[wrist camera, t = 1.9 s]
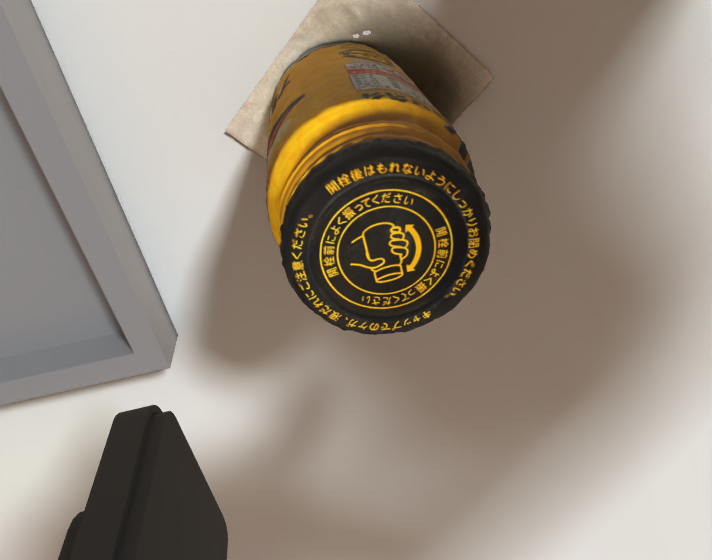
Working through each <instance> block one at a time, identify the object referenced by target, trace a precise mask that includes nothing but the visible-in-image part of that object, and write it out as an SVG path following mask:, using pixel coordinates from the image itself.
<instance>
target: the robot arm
mask: <svg viewBox="0 0 712 560" xmlns="http://www.w3.org/2000/svg"><path fill="white" fill-rule="evenodd" d="M227 546H228V535H227V527H226V523H225V520H224V517H223V515H222V513H221V511H220V509H219V507H218V504H217V502H216V500H215V498H214V496H213V494H212V492H211V490H210V488H209V486H208V484H207V482H206V479H205V477H204V475H203V473H202V471H201V469H200V467H199V465H198V463H197V461H196V459H195V457H194V454H193V452H192V450H191V448H190V446H189V444H188V442H187V440H186V438H185V436H184V434H183V432H182V430H181V427H180V425H179V423H178V421H177V419H176V417H175V415H174V414H173V413H172V412H171V411H168V412H162V411H161V409H160V408H159V407H158V406H157V405H151V406H147V407H143V408H138V409H134V410H130V411H125V412H121V413H118V414H117V415H116V416H115V418H114V420H113V423H112V426H111V430H110V433H109V436H108V439H107V442H106V445H105V448H104V451H103V455H102V458H101V461H100V464H99V467H98V470H97V473H96V476H95V480H94V483H93V486H92V489H91V492H90V495H89V498H88V501H87V504H86V508H85V511H83V512H80V513H78V514H77V516H76V517H75V518H74V519H73V520H72V523H71V525H70V527H69V529H68V532H67V534H66V537H65V540H64V543H63V546H62V549H61V552H60V555H59V558H58V560H227Z"/></svg>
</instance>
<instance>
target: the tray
mask: <svg viewBox="0 0 712 560" xmlns="http://www.w3.org/2000/svg"><path fill="white" fill-rule="evenodd" d="M177 337H178V334H177V332H176V330H175V328H174V325H173V323H172V321H171V319H170V316H169V314H168V312H167V309H166V307H165V305H164V303H163V300H162V298H161V296H160V293H159V291H158V289H157V287H156V284H155V282H154V280H153V278H152V275H151V273H150V271H149V268H148V266H147V264H146V262H145V259H144V257H143V255H142V252H141V250H140V248H139V246H138V243H137V241H136V239H135V237H134V234H133V232H132V230H131V227H130V225H129V223H128V221H127V218H126V216H125V214H124V211H123V209H122V207H121V205H120V202H119V200H118V198H117V196H116V193H115V191H114V189H113V186H112V184H111V182H110V180H109V177H108V175H107V173H106V170H105V168H104V166H103V164H102V161H101V159H100V157H99V155H98V152H97V150H96V148H95V145H94V143H93V141H92V139H91V136H90V134H89V132H88V129H87V127H86V125H85V123H84V120H83V118H82V116H81V114H80V111H79V109H78V107H77V104H76V102H75V100H74V98H73V95H72V93H71V91H70V88H69V86H68V84H67V82H66V79H65V77H64V75H63V73H62V70H61V68H60V66H59V63H58V61H57V59H56V57H55V54H54V52H53V50H52V48H51V45H50V43H49V41H48V38H47V36H46V34H45V32H44V29H43V27H42V25H41V22H40V20H39V18H38V16H37V13H36V11H35V9H34V7H33V4H32V2H31V0H0V405H5V404H9V403H14V402H18V401H23V400H27V399H32V398H36V397H41V396H45V395H50V394H55V393H59V392H64V391H68V390H73V389H77V388H82V387H86V386H91V385H95V384H100V383H104V382H109V381H113V380H118V379H122V378H127V377H131V376H136V375H140V374H145V373H149V372H154V371H158V370H163V369H167V368H170V366H171V362H172V358H173V353H174V349H175V345H176V341H177Z"/></svg>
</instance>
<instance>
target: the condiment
mask: <svg viewBox="0 0 712 560" xmlns="http://www.w3.org/2000/svg"><path fill="white" fill-rule="evenodd" d="M366 30H370V31H371V34H369V35H362V33H363V31H366ZM353 34H359V35H360V36H359V38H353V36H352V35H353ZM493 78H494V76H493V75H492V74H491V73H490V72H488V71H487V70H486V69H485V68H484V67H483V66H482V65H481V64H480V63H479V62H478V61H477V60H476V59H475V58H474V57H473V56H472V55H470V54H469V53H468V52H467V51H466V50H465V49H464V48H463V47H462V46H461V45H460V44H459V43H458V42H457V41H456V40H455V39H453V37H452V36H451V35H450V34H449V33H448V32H446V31H445V30H444V29H443V28H442V27H441V26H440V25H439V24H438V23H437V22H436V21H435V20H434V19H433V18H432V17H431V16H430V15H429V14H428V13H427V12H425V11H424V10H423V9H422V8H421V7H420V6H418V5H417V4H416V2H415V1H414V0H318V1H317V3H316V4H315V5H314V7H313V8H312V9H311V11H310V12H309V14H308V15H307V16H306V18H305V19H304V21H303V22H302V23H301V25H300V26H299V27H298V29H297V30H296V32H295V33H294V34H293V36H292V37H291V39H290V40H289V41H288V43H287V44H286V45H285V47H284V48H283V50H282V51H281V52H280V54H279V55H278V57H277V58H276V59H275V61H274V62H273V64H272V65H271V66H270V68H269V69H268V71H267V72H266V73H265V75H264V76H263V78H262V79H261V80H260V82H259V83H258V85H257V86H256V87H255V89H254V90H253V92H252V93H251V94H250V96H249V97H248V99H247V100H246V102H245V103H244V104H243V106H242V107H241V108H240V110H239V111H238V113H237V114H236V115H235V117H234V118H233V120H232V121H231V123H230V124H229V126H228V127H227V129H226V130H225V131H226V132H227V133H229V134H230V135H232V136H233V137H235V138H236V139H237V140H239V141H240V142H241V143H243V144H244V145H246V146H247V147H249V148H250V149H252V150H253V151H255V152H256V153H257V154H259V155H260V156H262V157H264V158H265V159H266V160H267V187H266V192H267V197H266V203H267V209H268V215H269V221H270V224H271V228H272V231H273V235H274V238H275V240H276V242H277V243H278V245H279V247H280V251H281V256H282V259H283V260H282V265H283V266H284V268H285V271H286V274H287V278H288V281H289V283H290V285H291V286H292V288H293V289H294V290H295V292H296V293H297V295H298V296H299V298H300V299H301V300H302V302H303V303H304V304H305V305H306V306H307V307H308V308H310V309H311V310H312V311H314V312H315V313H316V314H318V315H319V316H321V317H322V318H323V319H324V320H326V321H327V322H329V323H331V324H332V325H335V326H337V327H340V328H341V329H343V330H353V331H356V332H359V333H363V334H373V335H376V334H388V333H395V332H407V331H410V330H413V329H415V328H417V327H420V326H423V325H425V324H427V323H429V322H431V321H433V320H434V319H437V318H439V317H441V316H443V315H445V314H446V313H447V312H449V311H451V310H452V309H453V308H454V307H455V306H456V305H457V304H458V303H459V302H460V301H461V300H462V299H463V298H464V297H465V296H466V295H467V294H468V293H469V291H471V289H472V288H473V287H474V286H475V284H476V283H477V281H478V279H479V277H480V275H481V273H482V272H483V270H484V267H485V264H486V261H487V258H488V255H489V247H490V238H489V234H490V230H491V224H490V220H489V216H490V210H489V206H488V204H487V202H486V201H485V194H484V192H483V191H482V190H481V188H480V187H479V186H478V184H477V181H476V178H475V176H474V170H473V167H472V162H471V159H470V155H469V153H468V151H467V149H466V146H465V143H464V142H463V141H462V140H461V138H460V137H459V136H458V135H457V133H456V131H455V130H454V128H453V127H452V126H451V125H452V124H453V122H454V121H455V120H456V119H457V118H458V117H459V116H460V115H461V113H462V112H463V111H464V110H465V109H466V108H467V107H468V106H469V105H470V104H471V103H472V102H473V100H474V99H476V98H477V97H478V95H479V94H480V93H481V92H482V90H483V89H484V88H485V87H486V86H487V85H488V84H489V82H490V81H491V80H492V79H493Z"/></svg>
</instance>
